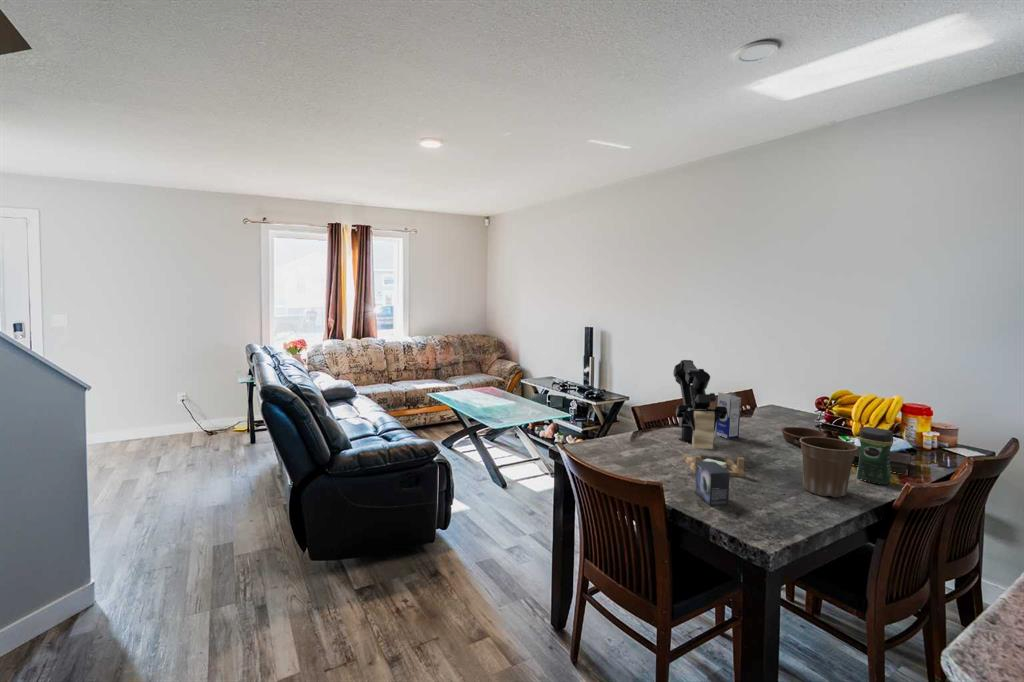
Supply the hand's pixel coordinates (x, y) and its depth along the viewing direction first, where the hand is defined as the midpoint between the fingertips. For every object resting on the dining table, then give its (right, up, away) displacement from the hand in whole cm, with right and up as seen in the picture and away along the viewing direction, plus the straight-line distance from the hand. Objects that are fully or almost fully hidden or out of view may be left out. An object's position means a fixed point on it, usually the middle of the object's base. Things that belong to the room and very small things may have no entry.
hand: (704, 430), depth 205 cm
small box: (-12, -15, -40) cm, 44 cm away
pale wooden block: (0, -7, +2) cm, 7 cm away
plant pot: (+28, -15, -32) cm, 44 cm away
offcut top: (-2, -10, -15) cm, 18 cm away
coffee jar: (+51, -14, -21) cm, 57 cm away
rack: (-2, -12, -12) cm, 17 cm away
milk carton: (+22, -8, +32) cm, 40 cm away
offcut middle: (-2, -12, -15) cm, 19 cm away
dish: (+52, -10, +25) cm, 58 cm away
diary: (+62, -13, -2) cm, 64 cm away
